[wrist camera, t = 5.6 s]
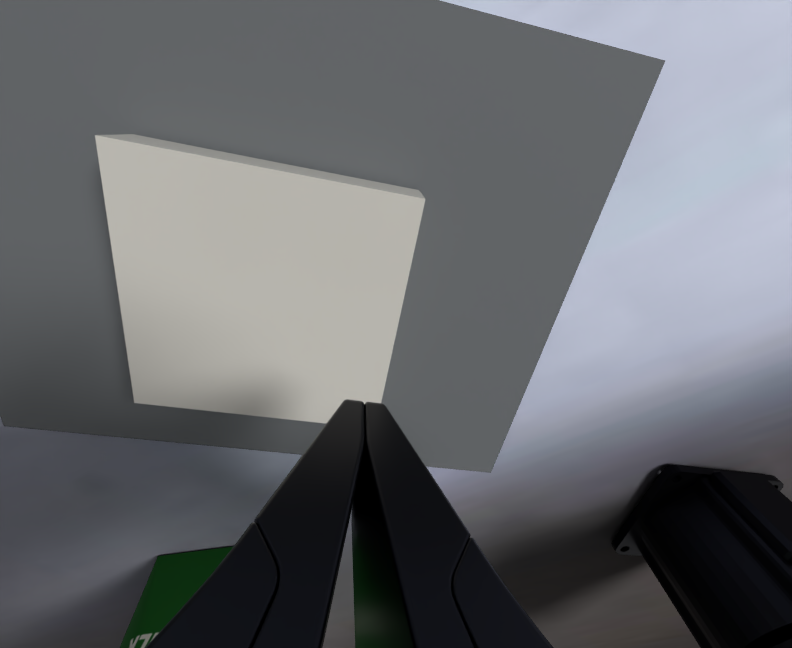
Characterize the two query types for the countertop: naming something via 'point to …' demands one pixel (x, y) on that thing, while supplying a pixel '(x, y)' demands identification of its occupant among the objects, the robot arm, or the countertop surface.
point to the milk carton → (169, 592)
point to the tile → (254, 278)
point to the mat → (320, 150)
